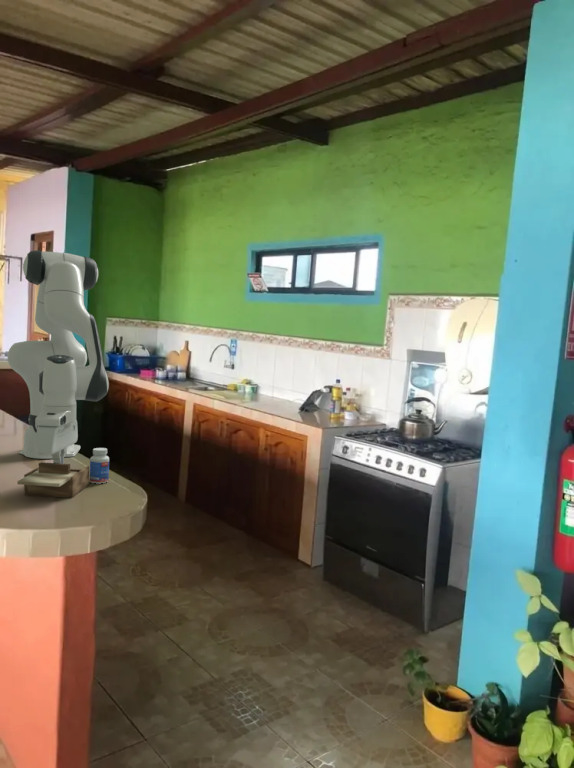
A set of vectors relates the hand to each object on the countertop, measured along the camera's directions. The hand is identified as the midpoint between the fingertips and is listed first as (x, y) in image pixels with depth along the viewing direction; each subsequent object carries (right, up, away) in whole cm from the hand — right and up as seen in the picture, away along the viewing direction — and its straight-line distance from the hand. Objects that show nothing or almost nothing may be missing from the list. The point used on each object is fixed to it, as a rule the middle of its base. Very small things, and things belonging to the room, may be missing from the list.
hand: (58, 464), depth 174 cm
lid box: (-1, -7, +1) cm, 7 cm away
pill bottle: (+8, -7, +12) cm, 15 cm away
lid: (-1, -3, -6) cm, 7 cm away
